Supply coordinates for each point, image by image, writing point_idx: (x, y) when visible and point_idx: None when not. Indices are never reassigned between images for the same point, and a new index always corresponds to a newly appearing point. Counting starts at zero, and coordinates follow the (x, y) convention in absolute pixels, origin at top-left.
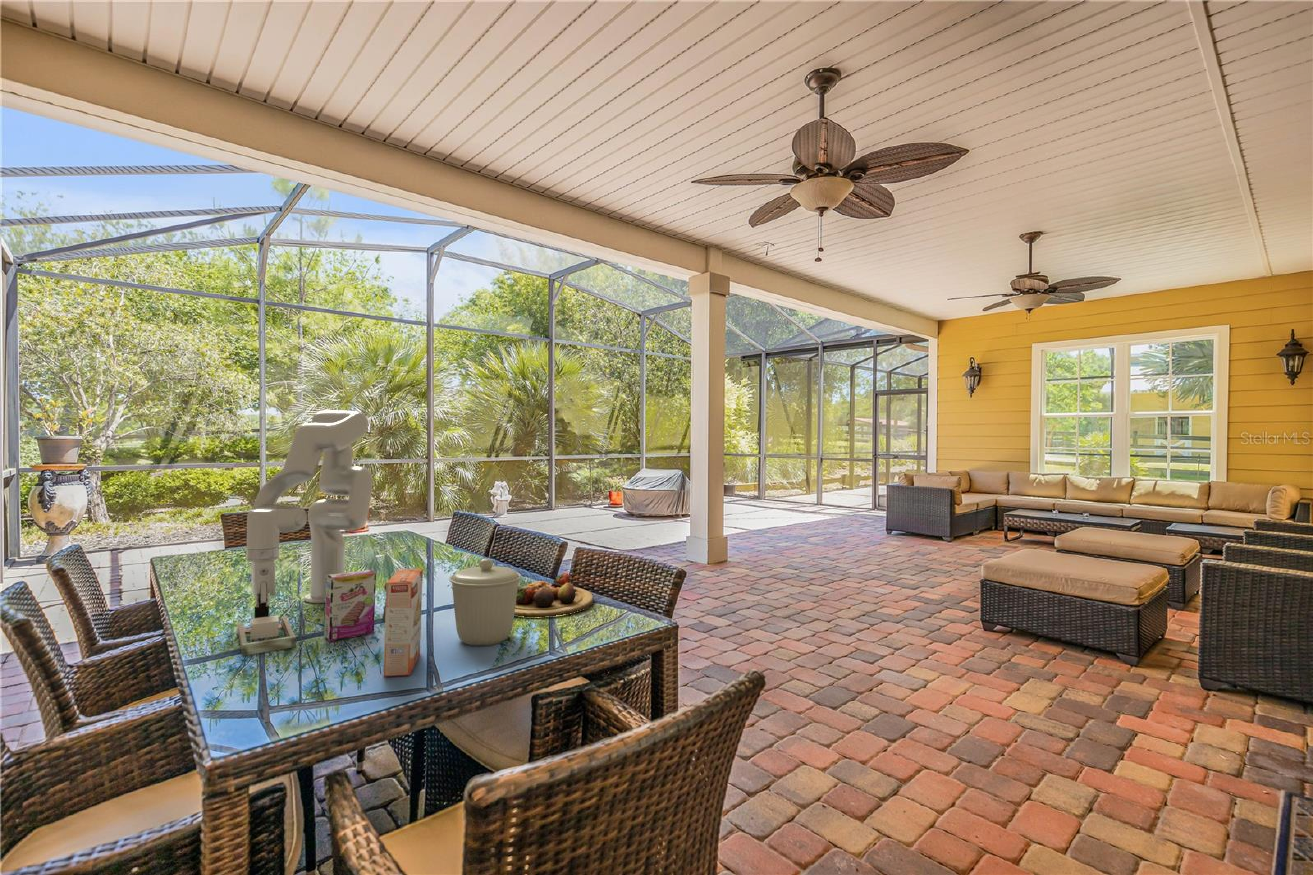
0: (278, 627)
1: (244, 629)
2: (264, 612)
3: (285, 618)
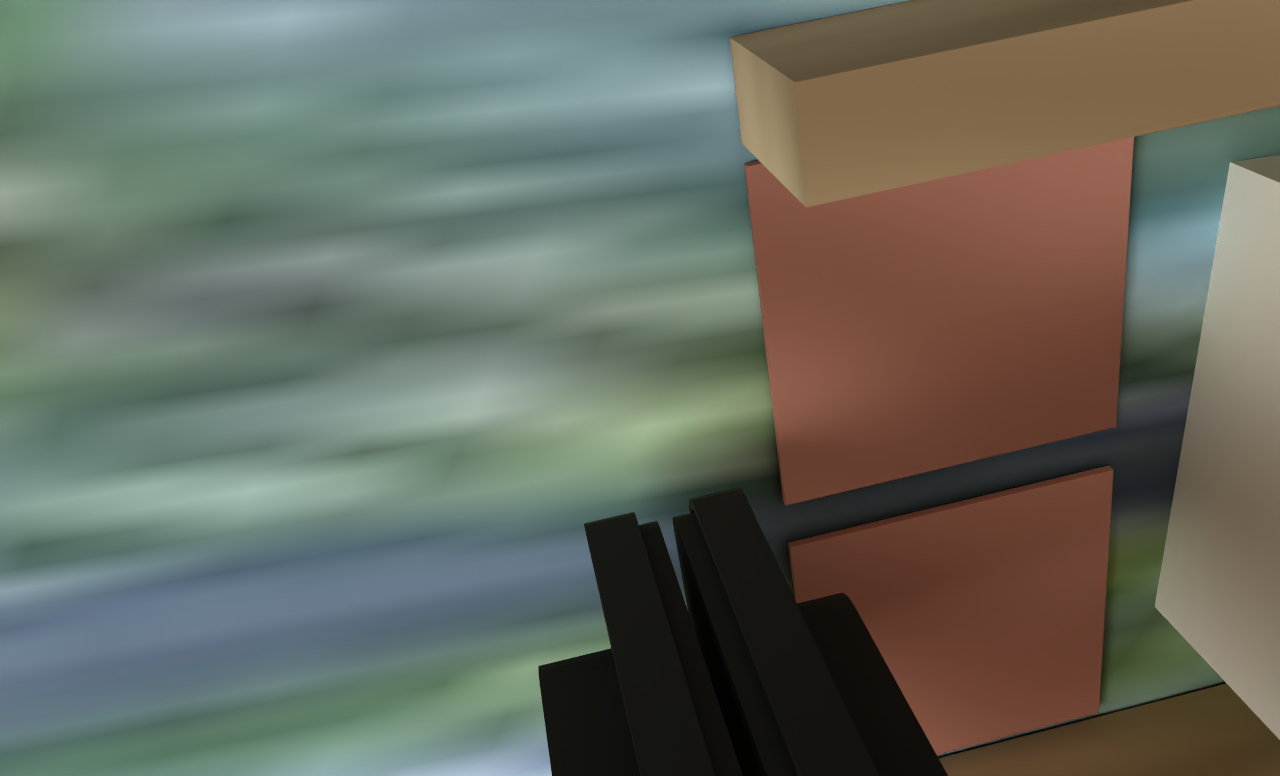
0: (1109, 169)
1: None
2: (911, 723)
3: (1136, 55)
